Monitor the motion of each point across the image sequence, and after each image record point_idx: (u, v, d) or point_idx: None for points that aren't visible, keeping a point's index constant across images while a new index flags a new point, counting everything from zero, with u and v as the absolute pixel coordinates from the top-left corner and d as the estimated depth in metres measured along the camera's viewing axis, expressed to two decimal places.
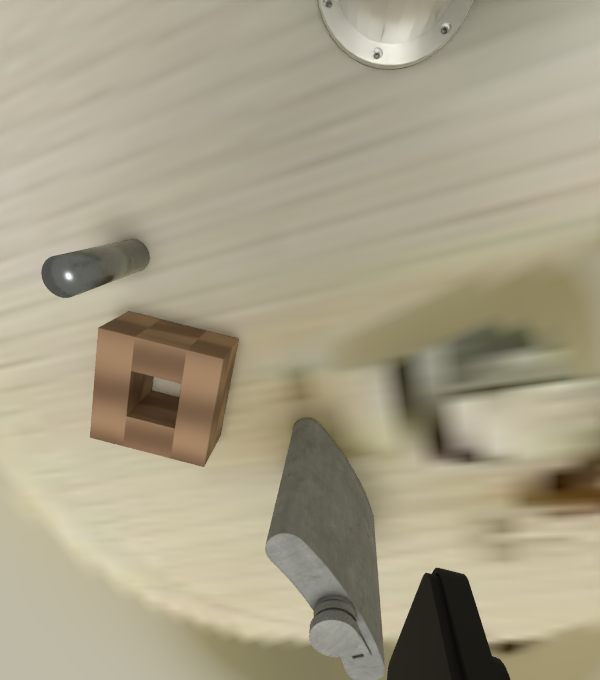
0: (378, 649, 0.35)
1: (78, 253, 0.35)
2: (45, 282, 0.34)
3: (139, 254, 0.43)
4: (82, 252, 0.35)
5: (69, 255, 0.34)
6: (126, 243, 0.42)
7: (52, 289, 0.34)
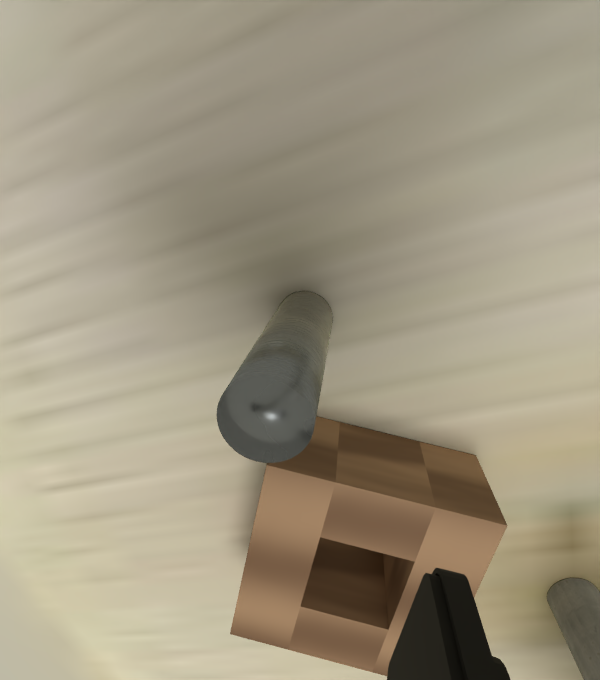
0: None
1: (286, 356, 0.16)
2: (224, 430, 0.15)
3: (329, 321, 0.24)
4: (288, 350, 0.16)
5: (281, 368, 0.14)
6: (311, 304, 0.23)
7: (238, 445, 0.15)
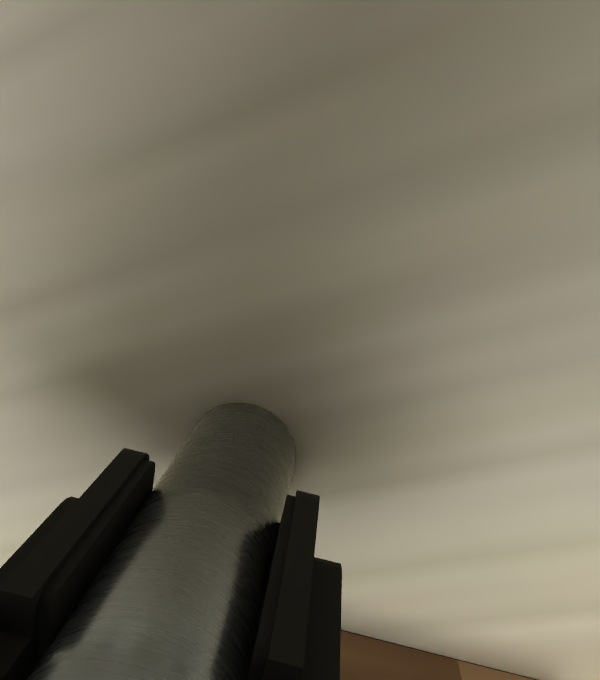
0: None
1: None
2: None
3: (284, 481, 0.11)
4: None
5: None
6: (241, 455, 0.11)
7: None
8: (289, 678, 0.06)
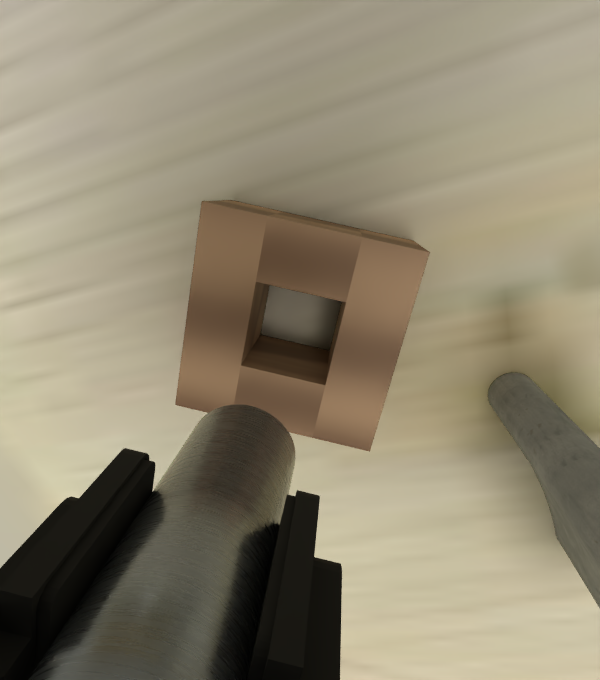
0: None
1: None
2: None
3: (284, 482, 0.11)
4: None
5: None
6: (240, 456, 0.11)
7: None
8: (289, 678, 0.06)
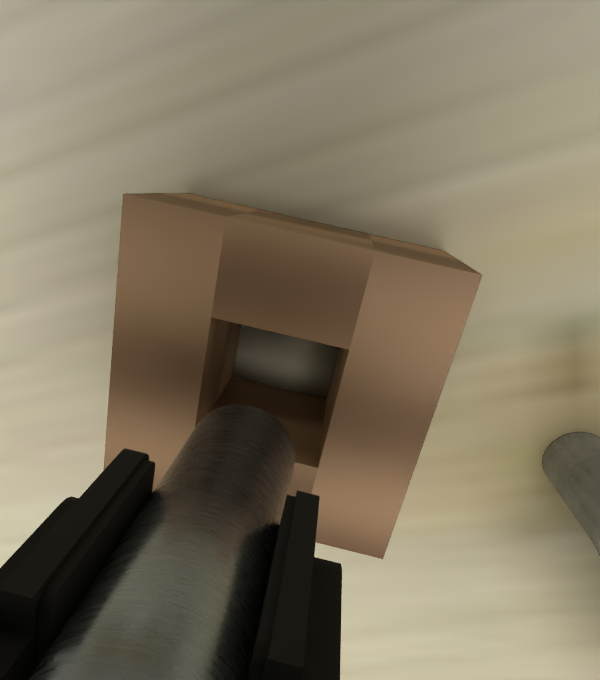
0: None
1: None
2: None
3: (284, 483, 0.11)
4: None
5: None
6: (240, 457, 0.11)
7: None
8: (289, 678, 0.06)
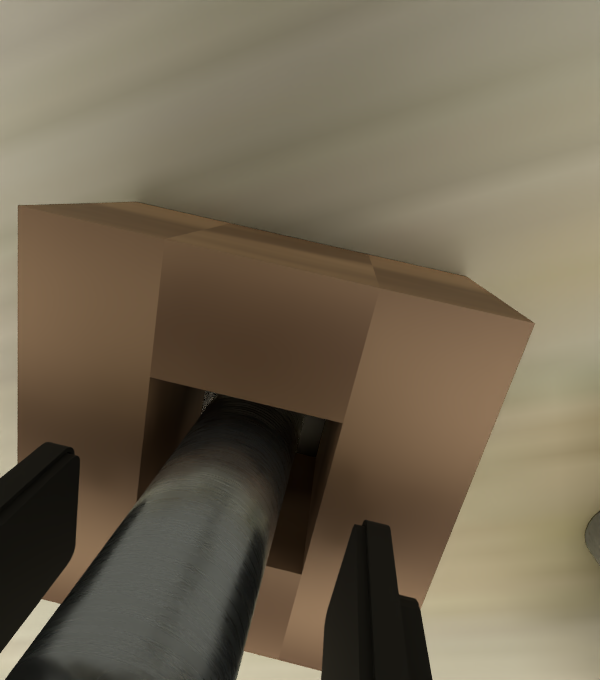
0: None
1: (176, 553, 0.08)
2: None
3: None
4: (188, 529, 0.08)
5: (143, 615, 0.06)
6: None
7: None
8: None
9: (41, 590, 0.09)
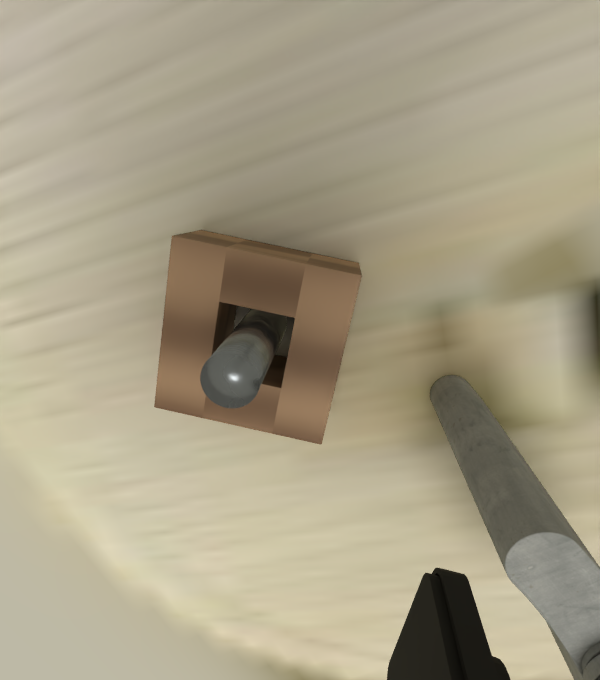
0: None
1: (243, 343, 0.25)
2: (204, 388, 0.24)
3: (283, 324, 0.33)
4: (245, 339, 0.25)
5: (239, 349, 0.24)
6: None
7: (214, 397, 0.24)
8: None
9: None
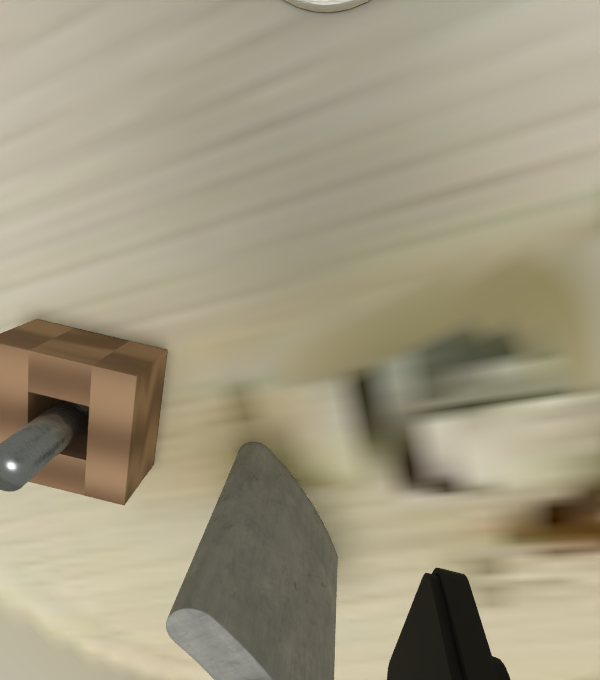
0: None
1: (24, 437, 0.31)
2: None
3: None
4: (29, 432, 0.32)
5: (12, 445, 0.30)
6: None
7: None
8: None
9: None
